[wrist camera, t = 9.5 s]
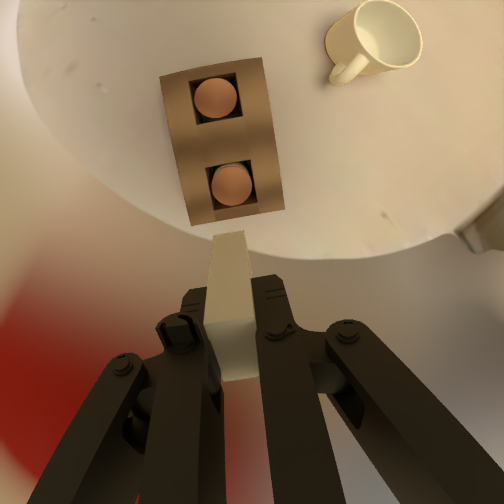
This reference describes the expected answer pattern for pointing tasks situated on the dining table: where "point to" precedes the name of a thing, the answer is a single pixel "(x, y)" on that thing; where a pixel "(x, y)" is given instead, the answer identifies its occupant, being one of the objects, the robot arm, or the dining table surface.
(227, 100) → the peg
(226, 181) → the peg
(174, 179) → the dining table surface
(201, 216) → the socket block
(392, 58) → the mug
